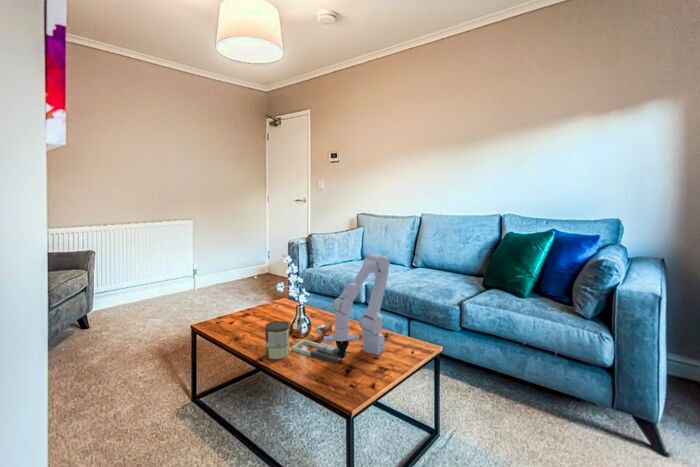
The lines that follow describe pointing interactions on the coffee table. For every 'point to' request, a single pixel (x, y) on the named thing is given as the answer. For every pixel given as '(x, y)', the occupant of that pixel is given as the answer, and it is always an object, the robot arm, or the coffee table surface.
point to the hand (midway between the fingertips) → (342, 357)
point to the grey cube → (331, 350)
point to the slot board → (326, 356)
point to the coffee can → (277, 339)
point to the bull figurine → (324, 329)
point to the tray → (295, 348)
